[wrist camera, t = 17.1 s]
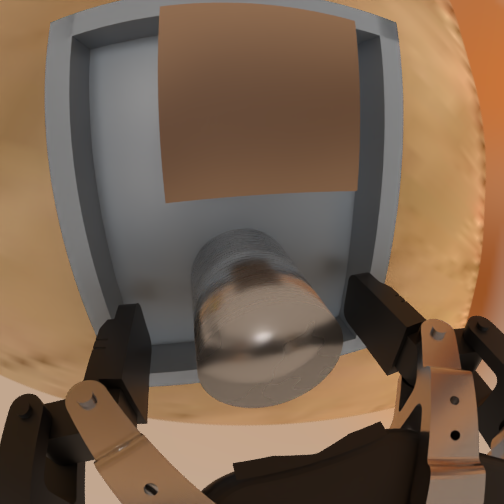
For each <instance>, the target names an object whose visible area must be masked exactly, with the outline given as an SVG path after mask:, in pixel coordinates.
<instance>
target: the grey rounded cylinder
mask: <svg viewBox="0 0 504 504" xmlns="http://www.w3.org/2000/svg"><path fill="white" fill-rule="evenodd" d="M191 286H192V307H193V324H194V339H195V352H196V364H197V373H198V378H199V381H200V383H201V385H202V387H203V388H204V389H205V391H206V392H207V393H208V394H210V395H211V396H212V397H213V398H215V399H217V400H218V401H220V402H223V403H225V404H228V405H232V406H237V407H244V408H260V407H268V406H273V405H278V404H281V403H284V402H287V401H290V400H292V399H295V398H297V397H299V396H301V395H303V394H305V393H306V392H308V391H309V390H311V389H312V388H314V387H315V386H317V385H318V384H319V383H320V382H321V381H322V380H323V379H324V378H325V377H326V376H327V375H328V374H329V373H330V372H331V370H332V369H333V368H334V366H335V365H336V363H337V361H338V359H339V357H340V355H341V351H342V347H343V333H342V329H341V327H340V325H339V323H338V322H337V320H336V319H335V317H334V316H333V315H332V313H331V312H330V311H329V309H328V308H327V307H326V305H325V304H324V303H323V301H322V300H321V299H320V297H319V296H318V294H317V293H316V292H315V290H314V289H313V288H312V286H311V285H310V284H309V282H308V281H307V280H306V279H305V277H304V276H303V275H302V273H301V272H300V271H299V269H298V268H297V267H296V265H295V264H294V263H293V261H292V260H291V259H290V257H289V256H288V255H287V254H286V252H285V251H284V250H283V248H282V247H281V246H280V244H279V243H278V242H277V241H276V240H275V239H274V238H272V237H271V236H269V235H267V234H266V233H264V232H261V231H258V230H254V229H234V230H229V231H226V232H223V233H221V234H219V235H217V236H215V237H214V238H212V239H211V240H209V241H208V242H207V243H206V244H205V245H204V246H203V247H202V248H201V249H200V251H199V252H198V254H197V256H196V257H195V260H194V262H193V265H192V270H191Z"/></svg>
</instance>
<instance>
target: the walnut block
mask: <svg viewBox="0 0 504 504" xmlns="http://www.w3.org/2000/svg"><path fill="white" fill-rule="evenodd" d="M158 110H159V132H160V148H161V161H162V173H163V184H164V193H165V203H174V202H183V201H192V200H202V199H213V198H225V197H237V196H251V195H266V194H284V193H305V192H336V191H357V188H358V172H359V151H360V82H359V61H358V47H357V36H356V26H355V21H353V20H350V19H346V18H342V17H338V16H334V15H329V14H325V13H320V12H315V11H310V10H304V9H298V8H291V7H284V6H276V5H266V4H253V3H191V4H178V5H168V6H160V13H159V32H158Z"/></svg>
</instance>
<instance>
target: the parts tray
mask: <svg viewBox="0 0 504 504" xmlns="http://www.w3.org/2000/svg"><path fill="white" fill-rule="evenodd" d="M191 3H253V4H266V5H276V6H284V7H291V8H298V9H304V10H310V11H315V12H320V13H325V14H329V15H334V16H338V17H342V18H346V19H350V20H353V21H355V26H356V36H357V47H358V61H359V82H360V151H359V172H358V188H357V191H336V192H305V193H284V194H266V195H251V196H237V197H225V198H213V199H202V200H192V201H183V202H174V203H165V193H164V184H163V173H162V161H161V148H160V132H159V110H158V32H159V13H160V6H168V5H178V4H191ZM45 124H46V140H47V151H48V160H49V168H50V175H51V182H52V188H53V194H54V200H55V205H56V210H57V215H58V219H59V224H60V228H61V232H62V236H63V240H64V244H65V248H66V251H67V255H68V258H69V262H70V265H71V269H72V272H73V275H74V278H75V281H76V284H77V287H78V290H79V293H80V296H81V298H82V301H83V304H84V306H85V309H86V312H87V314H88V317H89V319H90V322H91V324H92V327H93V329H94V331H95V334H96V336H97V334H98V331H99V329H100V327H101V326H102V325H103V324H104V323H105V322H106V321H107V320H108V319H114V318H115V314H116V311H117V308H118V306H119V305H122V304H134V303H139V304H140V306H141V309H142V312H143V316H144V319H145V322H146V326H147V329H148V332H149V335H150V339H151V347H152V353H151V364H150V377H149V387H153V386H169V385H181V384H192V383H200V381H199V378H198V373H197V364H196V352H195V339H194V324H193V307H192V286H191V270H192V265H193V262H194V260H195V257H196V256H197V254H198V252H199V251H200V249H201V248H202V247H203V246H204V245H205V244H206V243H207V242H208V241H209V240H211V239H212V238H214V237H215V236H217V235H219V234H221V233H223V232H226V231H229V230H234V229H254V230H258V231H261V232H264V233H266V234H267V235H269V236H271V237H272V238H274V239H275V240H276V241H277V242H278V243H279V244H280V246H281V247H282V248H283V250H284V251H285V252H286V254H287V255H288V256H289V257H290V259H291V260H292V261H293V263H294V264H295V265H296V267H297V268H298V269H299V271H300V272H301V273H302V275H303V276H304V277H305V279H306V280H307V281H308V282H309V284H310V285H311V286H312V288H313V289H314V290H315V292H316V293H317V294H318V296H319V297H320V299H321V300H322V301H323V303H324V304H325V305H326V307H327V308H328V309H329V311H330V312H331V313H332V315H333V316H334V317H335V319H336V320H337V322H338V323H339V325H340V327H341V329H342V333H343V347H342V351H341V355H344V354H348V353H351V352H355V351H358V350H361V349H365V348H366V346H365V345H364V344H363V342H362V341H361V340H360V338H359V337H358V336H357V334H356V333H355V332H354V330H353V329H352V328H351V326H350V325H349V324H348V322H347V321H346V319H345V316H344V303H345V297H346V291H347V285H348V280H349V277H350V276H351V275H354V274H360V273H366V272H369V273H370V274H372V275H373V276H374V277H375V278H376V279H377V280H378V281H379V282H381V283H383V284H384V283H385V279H386V274H387V269H388V264H389V259H390V254H391V248H392V242H393V236H394V230H395V223H396V216H397V208H398V199H399V190H400V179H401V167H402V149H403V86H402V69H401V57H400V47H399V39H398V31H397V24H396V22H393V21H391V20H388V19H385V18H383V17H380V16H377V15H374V14H371V13H368V12H365V11H362V10H359V9H355V8H352V7H348V6H345V5H341V4H337V3H333V2H329V1H324V0H121V1H116V2H112V3H108V4H104V5H101V6H97V7H94V8H90V9H87V10H84V11H81V12H78V13H75V14H72V15H69V16H66V17H64V18H61V19H58V20H56V21H53V22H51V24H50V30H49V38H48V46H47V57H46V71H45ZM341 355H340V356H341Z"/></svg>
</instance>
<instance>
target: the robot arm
mask: <svg viewBox="0 0 504 504" xmlns="http://www.w3.org/2000/svg"><path fill="white" fill-rule="evenodd" d="M344 316H345V319H346V321H347V322H348V324H349V325H350V326H351V328H352V329H353V330H354V332H355V333H356V334H357V336H358V337H359V338H360V340H361V341H362V342H363V344H364V345H365V346H366V348H367V349H368V350H369V352H370V353H371V354H372V356H373V357H374V358H375V360H376V361H377V362H378V364H379V365H380V366H381V368H382V369H383V371H384V372H385V373H386V375H387V376H388V375H390V374H393V373H395V372H398V371H399V373H400V376H399V379H398V385H397V395H396V403H395V411H394V418H393V421H392V424H391V426H390V428H389V429H385V428H384V426H383V425H382V423H381V422H378V423H375V424H373V425H371V426H368V427H366V428H363V429H361V430H358V431H355V432H353V433H350V434H348V435H347V436H345V437H344V438H342V439H341V440H339V441H337V442H336V443H335V444H333V445H331V446H329V447H328V448H326V449H324V450H323V451H321V452H319V453H317V454H313V455H295V456H271V457H266V458H261V459H255V460H250V461H244V462H238V463H233V467H234V472H232V473H229V474H227V475H225V476H223V477H221V478H219V479H217V480H215V481H214V482H212V483H211V484H209V485H208V486H207V487H206V488H204V489H203V490H202V491H200V490H199V489H197V488H196V487H195V486H194V485H193V484H192V483H191V482H189V481H188V480H187V479H186V478H185V477H184V476H183V475H182V474H181V473H180V472H179V471H178V470H177V469H176V468H175V467H174V466H172V464H171V463H169V461H168V460H167V459H166V458H165V457H164V456H163V455H162V454H161V453H160V452H159V451H158V450H157V449H156V448H155V447H154V446H153V445H152V444H151V442H150V441H149V440H148V439H147V438H146V437H145V436H144V435H143V434H142V433H140V432H139V431H138V429H137V424H146V423H147V413H148V392H149V377H150V364H151V353H152V347H151V339H150V335H149V332H148V329H147V326H146V322H145V319H144V316H143V312H142V309H141V306H140V304H139V303H134V304H122V305H119V306H118V308H117V311H116V314H115V318H114V319H108V320H107V321H106V322H105V323H104V324H103V325H102V326H101V327H100V329H99V331H98V334H97V337H96V341H95V343H94V346H93V350H92V353H91V356H90V359H89V363H88V366H87V369H86V373H85V377H84V380H83V381H82V382H79V383H77V384H76V385H74V386H73V387H72V388H71V389H70V390H69V391H68V393H67V395H66V399H64V400H60V401H56V402H52V403H47V404H43V402H42V401H41V400H40V399H39V398H38V397H37V396H36V395H33V394H24V395H21V396H19V397H18V398H17V399H16V400H15V401H14V402H13V403H12V405H11V406H10V409H9V412H8V416H7V419H6V423H5V427H4V431H3V434H2V439H1V443H0V504H85V461H90V460H94V459H95V460H96V461H95V462H94V464H95V467H96V469H97V470H98V472H99V473H100V475H101V476H102V478H103V479H104V481H105V482H106V483H107V485H108V486H109V488H110V489H111V490H112V492H113V493H114V494H115V495H116V497H117V498H118V499H119V501H120V502H121V503H122V504H504V334H503V333H502V332H501V331H500V330H499V329H498V328H496V326H495V325H494V324H493V323H492V322H490V321H489V320H488V319H486V318H484V317H481V316H472V317H470V318H469V320H468V322H467V324H466V326H465V328H461V329H453V328H452V327H451V326H450V325H449V324H447V323H446V322H444V321H441V320H437V319H429V320H426V319H425V318H424V317H423V316H422V315H421V314H419V313H418V312H417V311H416V310H415V309H414V308H413V307H412V306H411V305H410V304H409V303H408V302H407V301H406V302H405V300H404V299H403V298H402V297H401V296H399V294H398V293H397V292H396V291H395V290H393V289H392V288H391V287H389V286H388V285H386V284H383V283H381V282H379V281H378V280H377V279H376V278H375V277H374V276H373V275H372V274H370V273H369V272H366V273H360V274H354V275H351V276H350V277H349V280H348V285H347V291H346V297H345V303H344ZM482 359H483V360H484V362H485V363H486V364H487V365H488V366H489V367H490V368H491V370H492V371H493V372H494V373H495V374H496V377H497V385H496V387H495V388H494V390H493V391H492V390H491V389H490V388H489V387H488V385H487V384H486V383H485V382H484V380H483V379H482V378H481V377H480V376H479V374H478V373H477V372H476V371H475V370H476V369H477V367H478V365H479V364H480V362H481V360H482ZM478 430H479V431H478ZM479 432H480V433H481V435H482V436H483V438H484V439H485V441H486V442H487V444H488V445H489V447H490V449H491V451H490V452H489V453H488V454H487V455H486V454H482V453H479Z"/></svg>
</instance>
